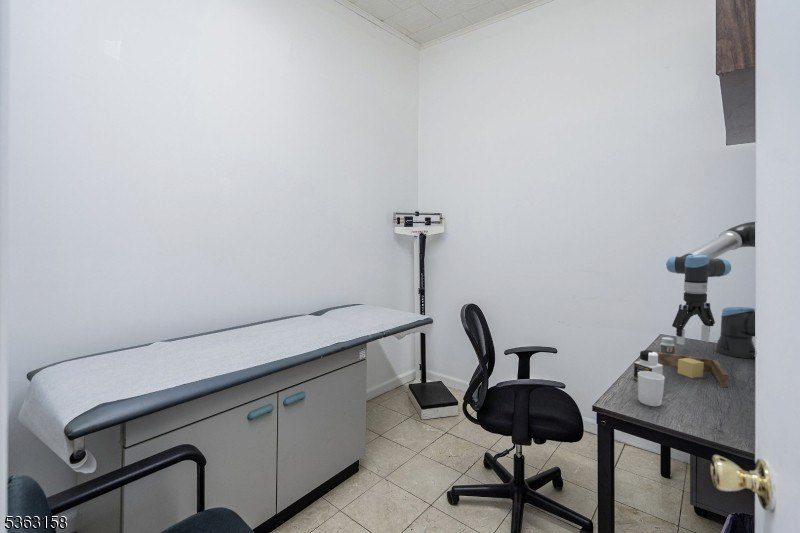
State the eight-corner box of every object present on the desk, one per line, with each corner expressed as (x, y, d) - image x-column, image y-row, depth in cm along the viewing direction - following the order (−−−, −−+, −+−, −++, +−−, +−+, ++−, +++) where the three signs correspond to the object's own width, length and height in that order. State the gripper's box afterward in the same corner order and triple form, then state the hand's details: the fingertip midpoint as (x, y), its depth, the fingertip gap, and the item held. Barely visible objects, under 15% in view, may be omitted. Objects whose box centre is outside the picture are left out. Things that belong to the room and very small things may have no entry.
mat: (703, 373, 156) (703, 372, 156) (708, 381, 147) (708, 381, 147) (673, 369, 161) (673, 368, 161) (677, 376, 152) (677, 376, 152)
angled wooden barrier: (714, 370, 158) (715, 359, 158) (727, 387, 141) (728, 375, 141) (653, 362, 169) (653, 351, 169) (658, 377, 152) (658, 365, 152)
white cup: (654, 409, 124) (655, 381, 124) (631, 399, 132) (632, 373, 131) (668, 404, 128) (669, 377, 127) (645, 395, 135) (646, 369, 134)
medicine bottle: (633, 378, 151) (634, 350, 150) (644, 375, 154) (646, 348, 152) (651, 385, 144) (652, 355, 143) (662, 382, 147) (663, 353, 146)
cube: (688, 371, 157) (688, 357, 157) (702, 376, 152) (703, 362, 151) (677, 372, 156) (678, 359, 155) (691, 377, 150) (692, 363, 150)
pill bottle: (676, 361, 171) (678, 340, 170) (663, 360, 172) (664, 339, 171) (670, 357, 176) (671, 337, 175) (657, 356, 177) (658, 336, 176)
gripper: (681, 295, 144) (678, 348, 146) (727, 291, 150) (724, 341, 152) (663, 292, 151) (661, 342, 153) (708, 289, 157) (705, 337, 159)
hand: (692, 342), depth 153 cm, fingers open, 13 cm apart
